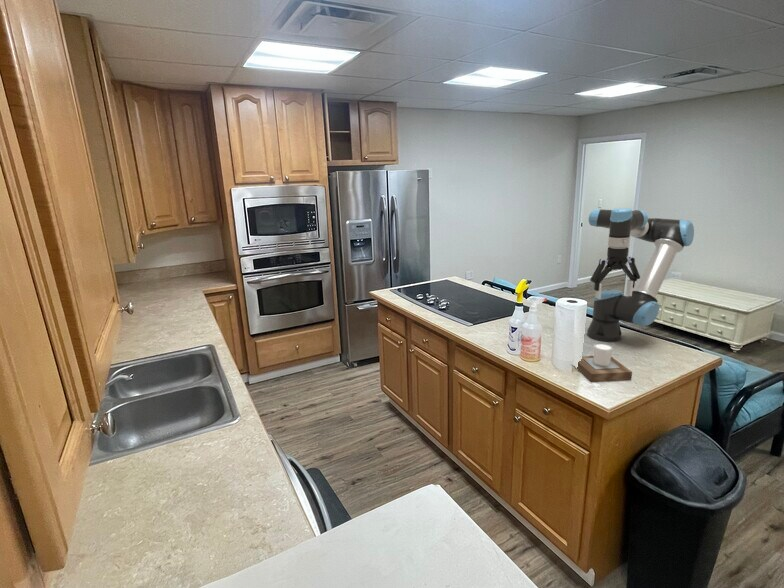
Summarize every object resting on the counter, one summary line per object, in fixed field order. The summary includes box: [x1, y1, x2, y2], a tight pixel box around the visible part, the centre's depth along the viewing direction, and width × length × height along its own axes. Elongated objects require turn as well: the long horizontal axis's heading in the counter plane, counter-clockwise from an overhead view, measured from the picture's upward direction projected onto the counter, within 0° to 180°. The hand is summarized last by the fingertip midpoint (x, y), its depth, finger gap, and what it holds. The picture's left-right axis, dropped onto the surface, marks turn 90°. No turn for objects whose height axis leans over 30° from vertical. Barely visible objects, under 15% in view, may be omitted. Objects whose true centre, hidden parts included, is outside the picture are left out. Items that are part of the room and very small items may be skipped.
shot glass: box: [593, 343, 614, 366], centre depth 168 cm, size 7×7×7 cm
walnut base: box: [576, 355, 633, 383], centre depth 169 cm, size 16×16×4 cm
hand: (613, 296), depth 177 cm, fingers open, 13 cm apart
